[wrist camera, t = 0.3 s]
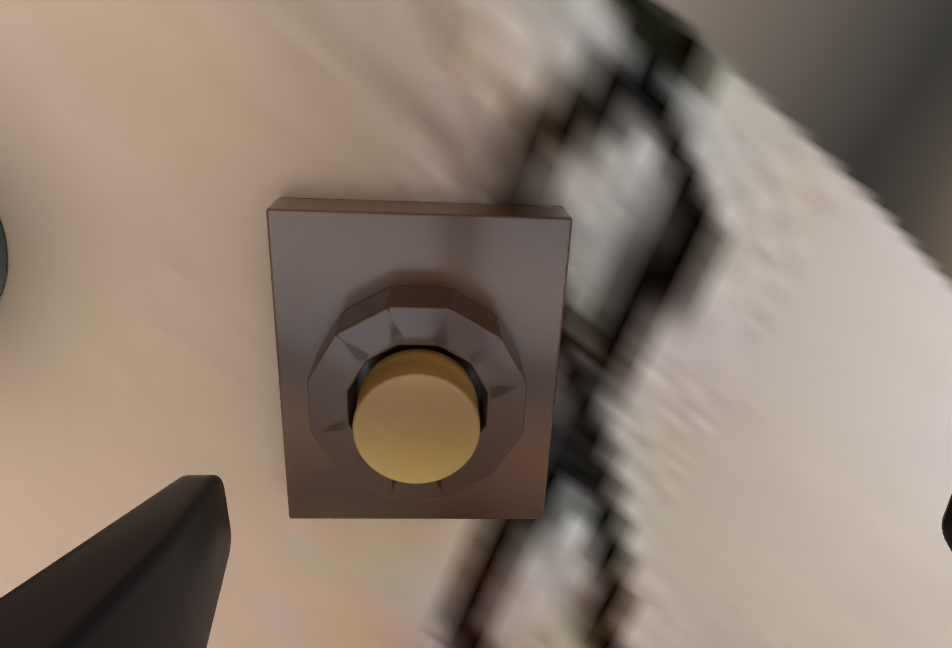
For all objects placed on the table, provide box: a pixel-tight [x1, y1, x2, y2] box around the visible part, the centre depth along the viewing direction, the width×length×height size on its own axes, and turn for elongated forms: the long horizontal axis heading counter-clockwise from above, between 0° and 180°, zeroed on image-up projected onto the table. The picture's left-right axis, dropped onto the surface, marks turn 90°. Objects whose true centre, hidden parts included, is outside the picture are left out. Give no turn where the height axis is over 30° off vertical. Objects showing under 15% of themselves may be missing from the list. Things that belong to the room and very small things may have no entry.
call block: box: [266, 198, 572, 519], centre depth 22 cm, size 11×9×4 cm
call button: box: [352, 349, 480, 484], centre depth 20 cm, size 4×4×2 cm
